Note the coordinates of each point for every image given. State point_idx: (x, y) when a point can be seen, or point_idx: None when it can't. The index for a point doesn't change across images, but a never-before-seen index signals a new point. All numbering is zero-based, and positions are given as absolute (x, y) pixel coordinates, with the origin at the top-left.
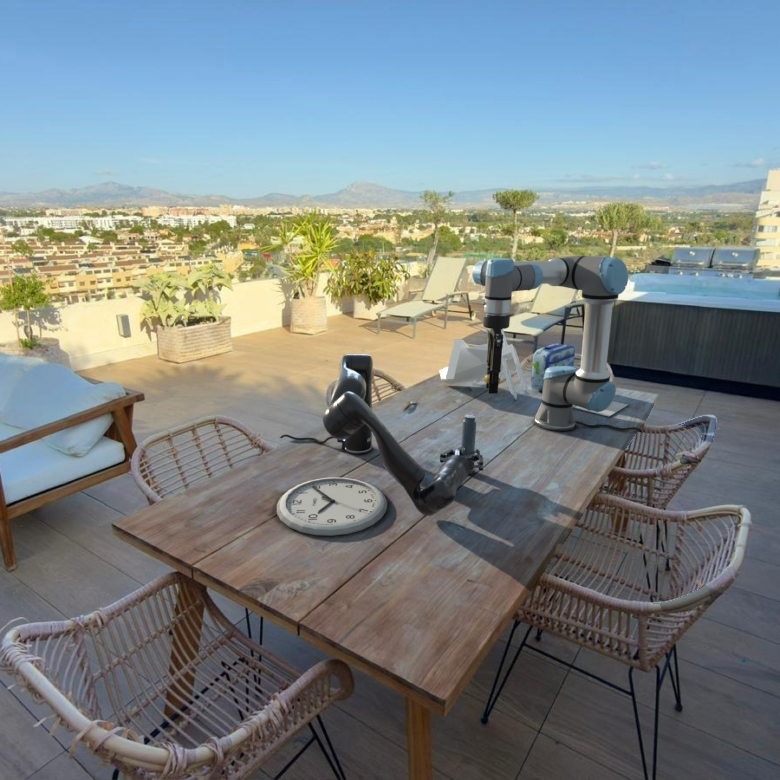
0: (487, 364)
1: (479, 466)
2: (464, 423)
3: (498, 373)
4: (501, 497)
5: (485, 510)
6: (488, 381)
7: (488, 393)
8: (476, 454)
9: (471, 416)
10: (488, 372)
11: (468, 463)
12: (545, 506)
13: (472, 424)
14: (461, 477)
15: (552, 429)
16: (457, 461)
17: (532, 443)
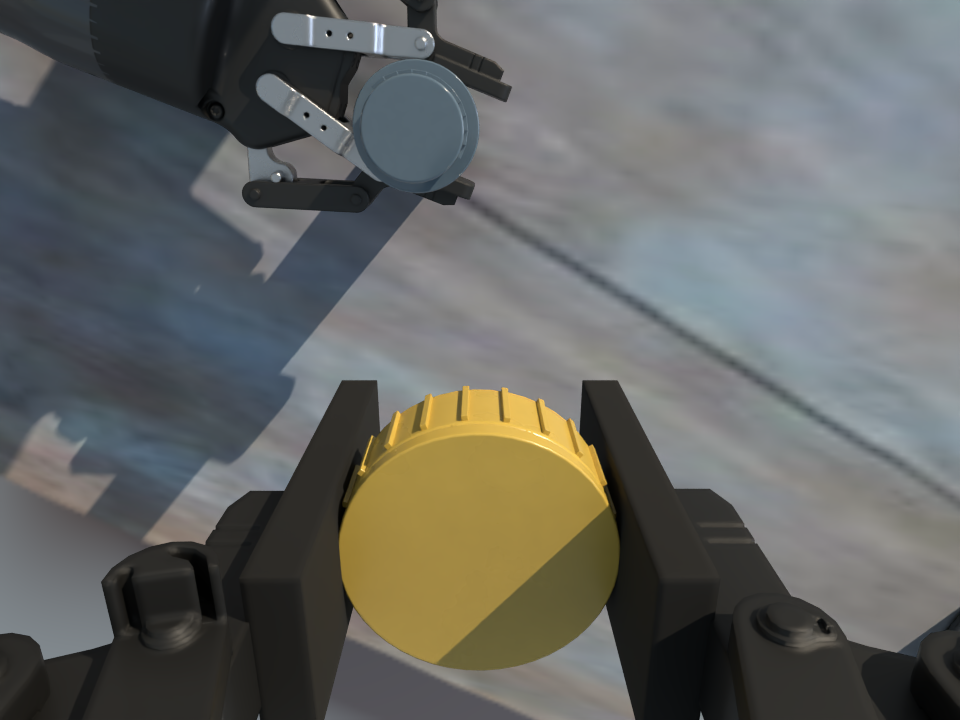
0: (775, 624)
1: (251, 180)
2: (378, 71)
3: (266, 716)
4: (178, 270)
5: (29, 177)
6: (364, 453)
7: (344, 380)
8: (369, 175)
9: (407, 144)
10: (142, 555)
11: (180, 102)
12: (145, 440)
13: (360, 149)
14: (20, 41)
15: (953, 628)
16: (81, 8)
17: (800, 508)
